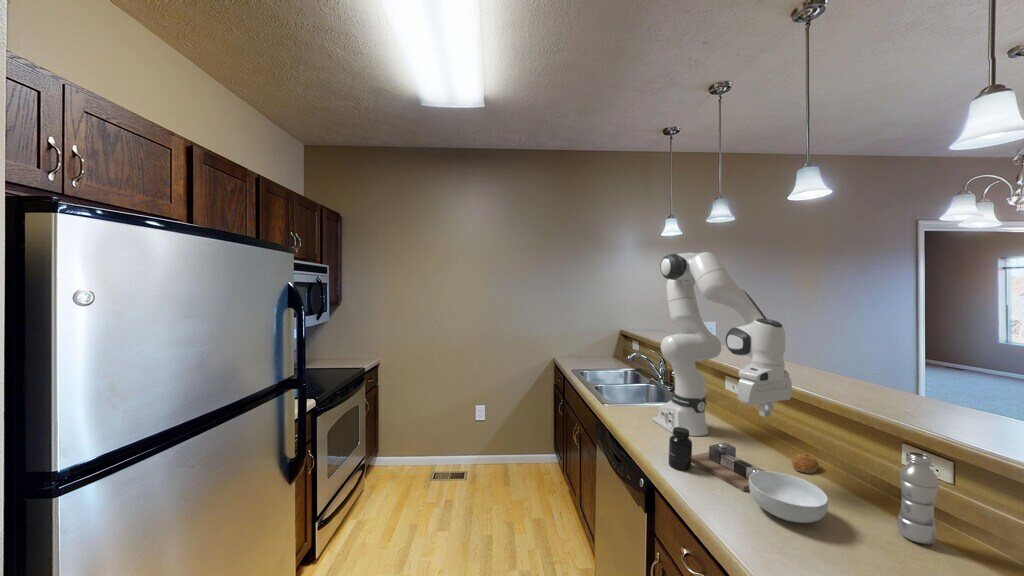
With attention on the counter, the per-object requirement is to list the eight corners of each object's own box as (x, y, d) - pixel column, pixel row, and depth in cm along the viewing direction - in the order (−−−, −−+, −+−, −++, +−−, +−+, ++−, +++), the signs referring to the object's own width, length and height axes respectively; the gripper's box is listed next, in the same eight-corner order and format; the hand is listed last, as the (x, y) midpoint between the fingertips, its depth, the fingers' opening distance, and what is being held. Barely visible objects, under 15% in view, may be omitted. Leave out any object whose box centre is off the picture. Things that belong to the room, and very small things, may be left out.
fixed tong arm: (720, 464, 123) (720, 454, 123) (722, 464, 124) (723, 454, 124) (754, 482, 113) (755, 471, 113) (757, 481, 113) (757, 470, 113)
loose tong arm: (723, 463, 124) (724, 453, 124) (726, 463, 124) (726, 453, 124) (758, 481, 113) (758, 470, 113) (761, 480, 114) (761, 469, 114)
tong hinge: (708, 459, 127) (709, 443, 127) (724, 456, 130) (725, 440, 130) (719, 464, 124) (719, 448, 123) (735, 461, 126) (735, 445, 126)
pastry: (814, 478, 120) (815, 465, 120) (788, 470, 125) (788, 458, 125) (819, 468, 126) (819, 456, 126) (794, 461, 131) (794, 449, 131)
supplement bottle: (665, 466, 125) (666, 429, 125) (672, 459, 130) (674, 423, 130) (687, 473, 120) (688, 435, 120) (694, 466, 125) (695, 429, 125)
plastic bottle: (888, 531, 94) (891, 449, 94) (913, 530, 95) (916, 449, 94) (918, 549, 88) (922, 461, 87) (945, 548, 88) (949, 461, 88)
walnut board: (687, 460, 129) (687, 456, 129) (720, 454, 135) (720, 449, 135) (743, 491, 111) (743, 486, 111) (778, 482, 116) (778, 477, 116)
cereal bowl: (735, 494, 109) (736, 469, 109) (795, 496, 109) (796, 471, 109) (774, 533, 92) (775, 504, 92) (845, 536, 92) (846, 506, 92)
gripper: (778, 367, 127) (777, 408, 128) (734, 371, 120) (732, 415, 120) (799, 371, 121) (797, 415, 122) (754, 376, 114) (752, 423, 114)
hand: (764, 415), depth 121 cm, fingers closed
